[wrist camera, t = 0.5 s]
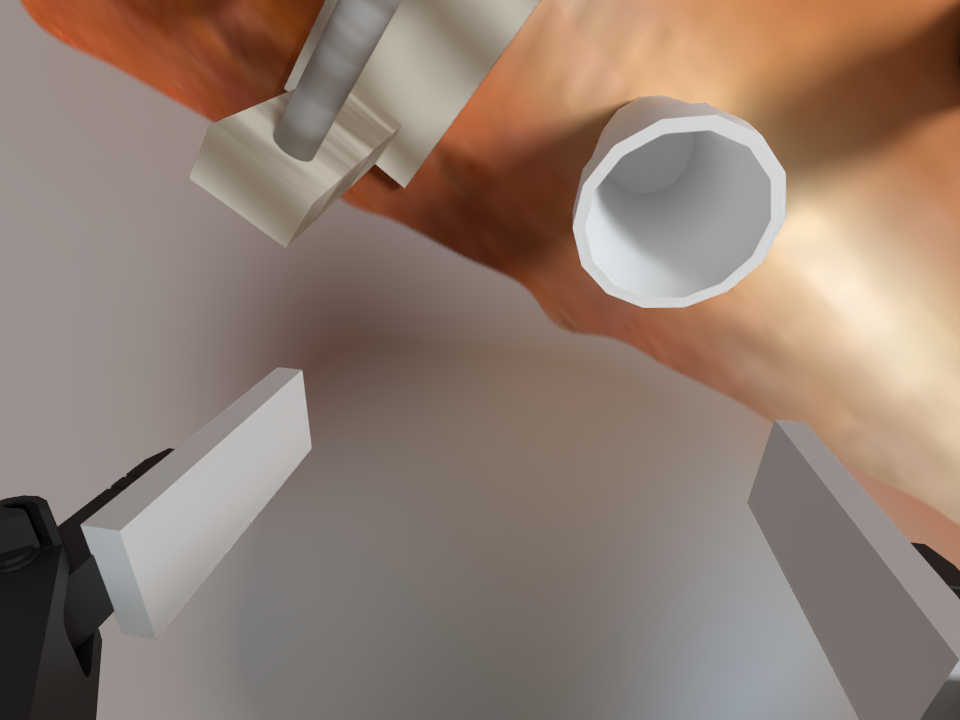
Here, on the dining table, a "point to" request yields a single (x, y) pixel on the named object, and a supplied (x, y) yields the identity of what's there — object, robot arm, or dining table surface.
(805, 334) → the dining table surface
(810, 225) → the dining table surface
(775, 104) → the dining table surface
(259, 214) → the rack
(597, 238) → the foam cup
